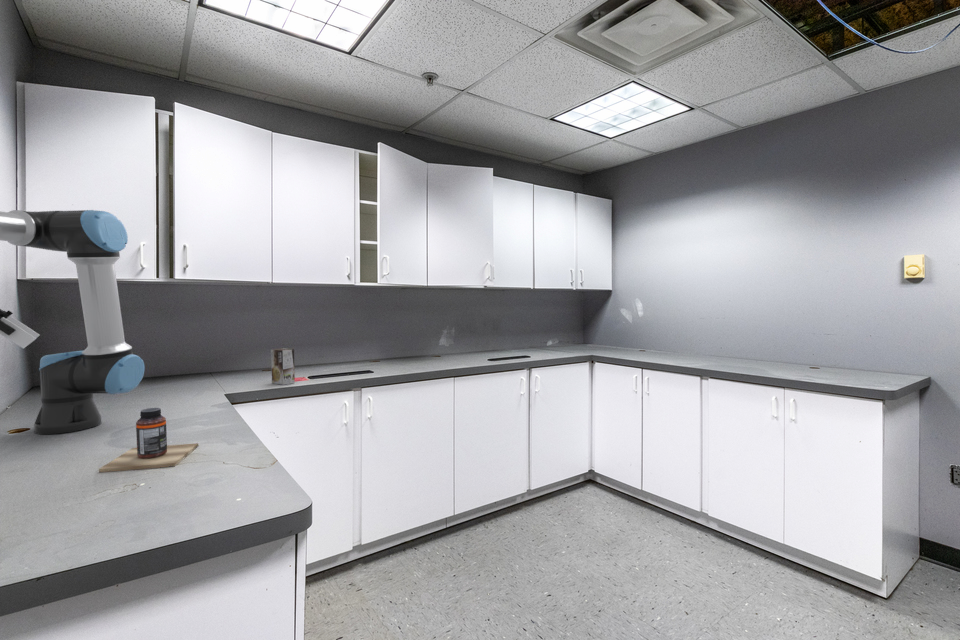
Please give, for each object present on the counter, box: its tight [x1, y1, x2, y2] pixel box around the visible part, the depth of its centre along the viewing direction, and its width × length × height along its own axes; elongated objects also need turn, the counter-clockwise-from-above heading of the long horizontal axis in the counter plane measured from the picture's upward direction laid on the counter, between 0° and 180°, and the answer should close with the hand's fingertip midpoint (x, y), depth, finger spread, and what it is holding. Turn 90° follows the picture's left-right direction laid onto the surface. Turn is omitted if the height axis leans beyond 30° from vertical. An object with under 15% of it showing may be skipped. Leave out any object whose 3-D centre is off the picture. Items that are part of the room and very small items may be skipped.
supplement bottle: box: [135, 407, 168, 458], centre depth 110 cm, size 6×6×11 cm
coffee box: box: [270, 347, 296, 386], centre depth 211 cm, size 9×6×16 cm
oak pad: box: [98, 442, 199, 473], centre depth 110 cm, size 15×15×1 cm
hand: (32, 341), depth 98 cm, fingers open, 13 cm apart
